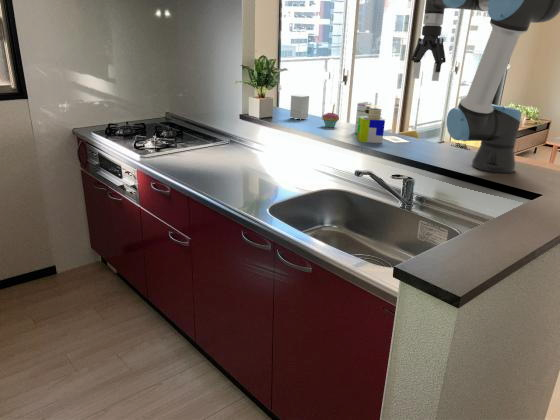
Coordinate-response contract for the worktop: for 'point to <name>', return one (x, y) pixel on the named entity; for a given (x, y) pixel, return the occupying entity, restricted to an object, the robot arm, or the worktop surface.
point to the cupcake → (330, 118)
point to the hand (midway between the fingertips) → (425, 79)
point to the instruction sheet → (394, 139)
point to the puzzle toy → (370, 130)
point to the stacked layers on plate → (372, 113)
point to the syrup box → (361, 112)
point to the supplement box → (299, 106)
